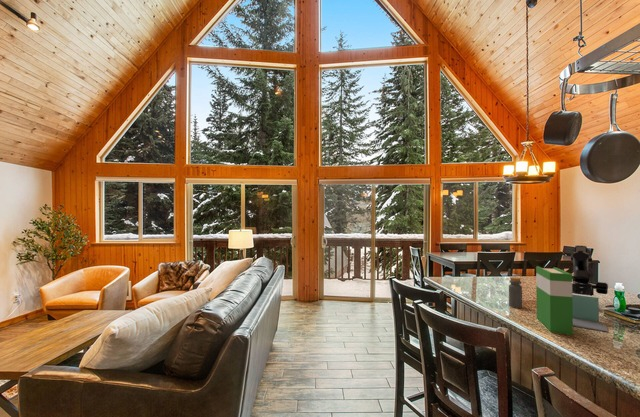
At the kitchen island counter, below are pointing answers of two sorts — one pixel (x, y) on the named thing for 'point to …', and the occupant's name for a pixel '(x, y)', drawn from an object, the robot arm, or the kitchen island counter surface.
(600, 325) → the mat
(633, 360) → the kitchen island counter surface
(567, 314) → the hardback book
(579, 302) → the tile
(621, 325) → the kitchen island counter surface
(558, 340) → the kitchen island counter surface
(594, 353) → the kitchen island counter surface
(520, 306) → the bottle
